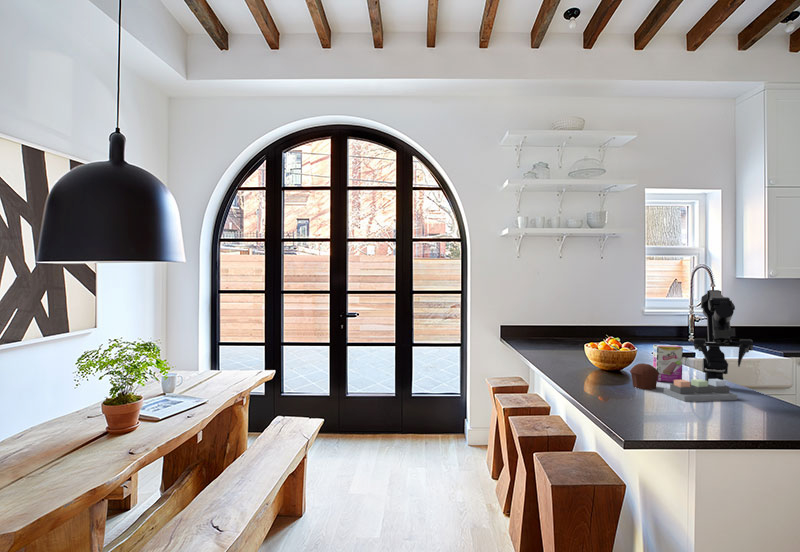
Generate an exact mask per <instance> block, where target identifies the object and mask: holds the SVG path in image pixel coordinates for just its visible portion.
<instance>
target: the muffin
mask: <svg viewBox="0 0 800 552" xmlns="http://www.w3.org/2000/svg"><path fill="white" fill-rule="evenodd" d="M629 372H630V373H629V374H631V380H632V386H633V388H635V387H636V389H638V388H639V390H645V391H646V390H648V391H653V390H657V389H656V388H657V378H658V375H659V372H658V371H657V370H656V368H654V367H653V365H651V364H648V363H645V362H644V363H637V364H634V366H633V367H632V368H631V369H630V370H629Z"/></svg>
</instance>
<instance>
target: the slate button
mask: <svg viewBox="0 0 800 552" xmlns="http://www.w3.org/2000/svg"><path fill="white" fill-rule="evenodd" d="M708 384H709V385H713V386H725V385H726V380H724V379H723V380H720V379H708Z"/></svg>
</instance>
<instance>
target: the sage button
mask: <svg viewBox="0 0 800 552" xmlns="http://www.w3.org/2000/svg"><path fill="white" fill-rule="evenodd" d="M690 384H691V385H694V386H697V387H708V381H705V379H699V378H696V379H695V378H694V379H693V378H692V379H690Z"/></svg>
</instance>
